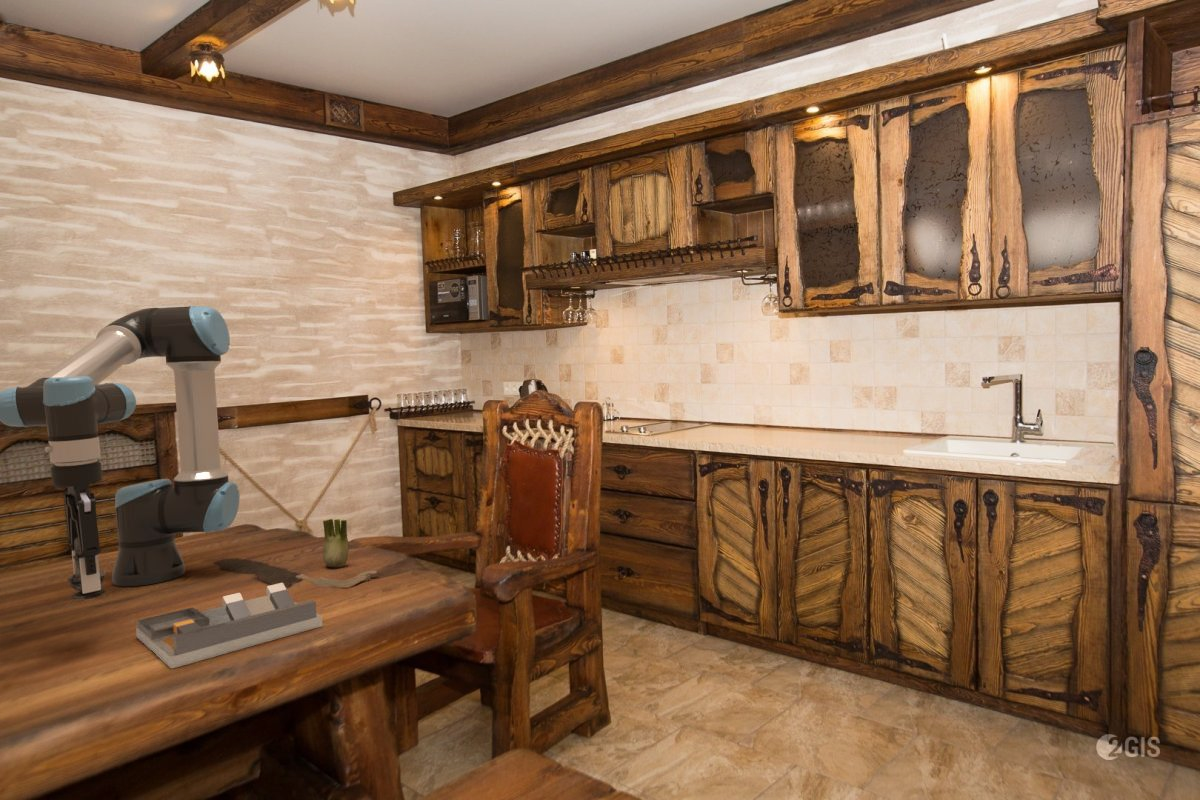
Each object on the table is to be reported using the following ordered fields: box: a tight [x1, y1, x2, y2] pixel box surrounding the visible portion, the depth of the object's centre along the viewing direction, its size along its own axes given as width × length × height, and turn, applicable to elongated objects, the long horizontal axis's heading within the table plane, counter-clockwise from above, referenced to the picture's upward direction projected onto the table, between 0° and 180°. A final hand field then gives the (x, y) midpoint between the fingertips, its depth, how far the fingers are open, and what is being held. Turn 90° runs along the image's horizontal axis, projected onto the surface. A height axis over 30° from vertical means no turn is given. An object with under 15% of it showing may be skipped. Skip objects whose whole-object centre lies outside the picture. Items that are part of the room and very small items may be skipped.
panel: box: [135, 594, 323, 670], centre depth 144 cm, size 22×26×5 cm
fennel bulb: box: [322, 518, 349, 568], centre depth 187 cm, size 6×5×12 cm
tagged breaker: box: [173, 619, 201, 635], centre depth 135 cm, size 8×3×2 cm, turn 44°
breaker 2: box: [265, 582, 296, 610], centre depth 145 cm, size 8×3×2 cm, turn 44°
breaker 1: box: [221, 592, 252, 621], centre depth 140 cm, size 8×3×2 cm, turn 44°
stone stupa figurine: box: [66, 537, 107, 601], centre depth 139 cm, size 6×6×12 cm
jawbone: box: [295, 570, 379, 590], centre depth 174 cm, size 9×20×2 cm, turn 82°
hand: (87, 587), depth 139 cm, fingers closed on stone stupa figurine, 6 cm apart
